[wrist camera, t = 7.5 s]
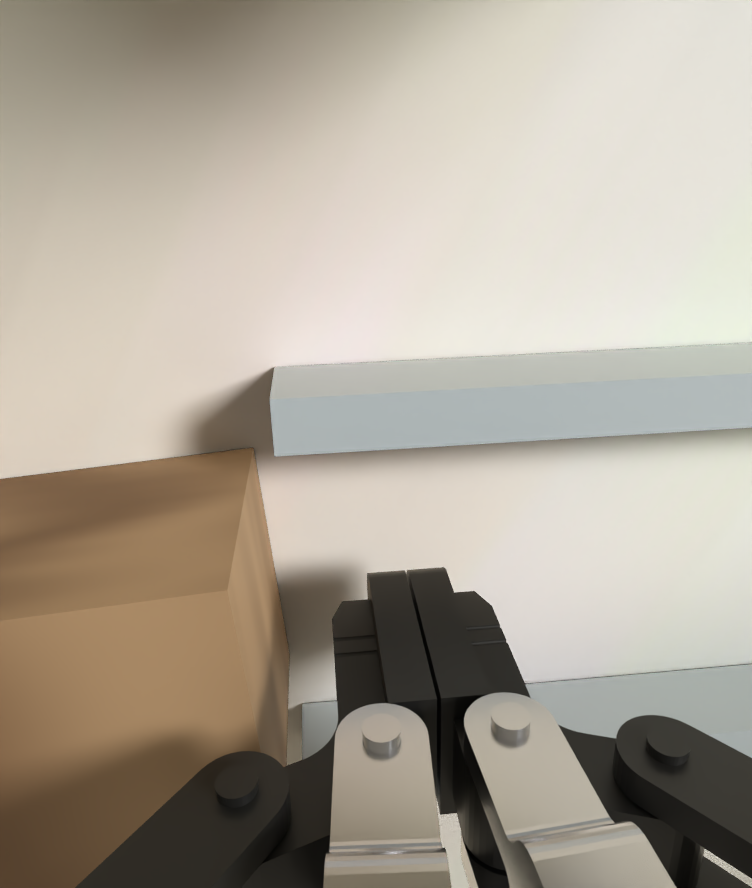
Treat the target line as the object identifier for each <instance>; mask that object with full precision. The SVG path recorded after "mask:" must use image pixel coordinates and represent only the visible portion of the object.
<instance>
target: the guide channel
mask: <svg viewBox="0 0 752 888" xmlns="http://www.w3.org/2000/svg"><path fill="white" fill-rule="evenodd" d="M270 411H271V422H272V434H273V445H274V457H276V456H292V455H309V454H325V453H341V452H358V451H374V450H391V449H407V448H424V447H440V446H456V445H473V444H489V443H506V442H522V441H539V440H555V439H572V438H588V437H604V436H621V435H637V434H654V433H670V432H687V431H703V430H720V429H736V428H752V343H734V344H715V345H695V346H675V347H656V348H636V349H616V350H597V351H577V352H557V353H538V354H518V355H498V356H479V357H459V358H439V359H420V360H400V361H380V362H361V363H341V364H321V365H302V366H282V367H274V373H273V380H272V386H271V393H270ZM525 685H526V688H527V690H528V692H529V695H530V697H531V698H532V699H534V700H536V701H537V702H539V703H540V704H542V705H543V706H544V707H546V708H547V709H548V710H549V711H550V713H551V714H552V715H553V717H554V718H555V720H556V722H557V724H558V725H560V726H562V727H565V728H567V729H570V730H573V731H576V732H581V733H586V734H592V735H598V736H604V737H610V738H616V736H617V733H618V730H619V728H620V727H621V726H622V725H623V724H624V723H625V722H626V721H628V720H630V719H632V718H634V717H638V716H643V715H659V716H666V717H670V718H673V719H676V720H679V721H682V722H684V723H686V724H688V725H690V726H692V727H694V728H696V729H698V730H700V731H702V732H703V733H705V734H707V735H709V736H711V737H713V738H715V739H717V740H719V741H720V742H722V743H724V744H726V745H728V746H730V747H732V748H734V749H736V750H737V751H739V752H741V753H743V754H745V755H747V756H749V757H751V758H752V664H747V665H736V666H724V667H713V668H702V669H691V670H679V671H668V672H657V673H645V674H634V675H623V676H612V677H600V678H589V679H578V680H566V681H555V682H544V683H533V684H525ZM337 723H338V707H337V701H329V702H318V703H307V704H302V760H303V759H306V758H308V757H310V756H311V755H313V754H315V753H316V752H318V751H319V750H320V749H322V748H323V747H324V746H325V745H326V744H327V743H328V742H329V740H330V739H331V737H332V736H333V734H334V732H335V730H336V727H337Z"/></svg>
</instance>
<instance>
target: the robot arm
mask: <svg viewBox="0 0 752 888" xmlns="http://www.w3.org/2000/svg"><path fill="white" fill-rule="evenodd" d="M367 590H368V600H356V601H343V602H342V603H341V605H340V606H339V608H338V610H337V612H336V613H335V615H334V617H333V618H332V624H333V641H334V657H335V674H336V690H337V707H338V723H337V727H336V730H335V732H334V734H333V736H332V737H331V739H330V740H329V742H328V743H327V744H326V745H325V746H324V747H323V748H322V749H320V750H319V751H318V752H316V753H315V754H313V755H311V756H310V757H308V758H306V759H303V760H301V761H299V762H296V763H293V764H291V765H288V766H285V767H283V766H282V765H281V764H280V763H279V762H278V761H277V760H276V759H274V758H273V757H271V756H269V755H267V754H264V753H260V752H255V751H240V752H234V753H230V754H227V755H224V756H222V757H219V758H217V759H215V760H214V761H212V762H210V763H209V764H207V765H206V766H205V767H204V768H202V769H201V770H200V771H199V772H198V773H197V774H196V775H195V776H194V777H193V778H192V779H190V780H189V781H188V782H187V783H186V784H185V785H184V786H183V787H182V788H181V789H180V790H179V791H178V792H177V793H176V794H174V795H173V796H172V797H171V798H170V799H169V800H168V801H167V802H166V803H165V804H164V805H163V806H162V807H161V808H160V809H158V810H157V811H156V812H155V813H154V814H153V815H152V816H151V817H150V818H149V819H148V820H147V821H146V822H145V823H143V824H142V825H141V826H140V827H139V828H138V829H137V830H136V831H135V832H134V833H133V834H132V835H131V836H130V837H129V838H127V839H126V840H125V841H124V842H123V843H122V844H121V845H120V846H119V847H118V848H117V849H116V850H115V851H114V852H112V853H111V854H110V855H109V856H108V857H107V858H106V859H105V860H104V861H103V862H102V863H101V864H100V865H99V866H98V867H96V868H95V869H94V870H93V871H92V872H91V873H90V874H89V875H88V876H87V877H86V878H85V879H84V880H83V881H81V882H80V883H79V884H78V885H77V886H76V887H75V888H451V881H450V873H449V866H448V859H447V853H446V849H445V848H442V845H441V837H440V829H439V820H438V812H437V803H436V796H437V801H438V806H439V810H440V814H450V813H457V815H458V819H459V823H460V828H461V859H462V864H463V867H464V870H465V873H466V877H467V880H468V883H469V886H470V888H752V887H750V886H748V885H747V884H745V883H744V882H742V881H741V880H739V879H738V878H736V877H735V876H733V875H732V874H730V873H728V872H727V871H725V870H724V869H722V868H721V867H719V866H718V865H716V864H715V863H713V862H711V861H710V860H708V859H707V858H705V857H704V856H703V853H704V848H705V849H707V850H708V851H710V852H711V853H713V854H714V855H716V856H718V857H719V858H721V859H722V860H724V861H725V862H727V863H728V864H730V865H732V866H733V867H735V868H736V869H738V870H739V871H741V872H743V873H744V874H746V875H747V876H749V877H750V878H752V758H751V757H749V756H747V755H745V754H743V753H741V752H739V751H737V750H736V749H734V748H732V747H730V746H728V745H726V744H724V743H722V742H720V741H719V740H717V739H715V738H713V737H711V736H709V735H707V734H705V733H703V732H702V731H700V730H698V729H696V728H694V727H692V726H690V725H688V724H686V723H684V722H682V721H679V720H676V719H673V718H670V717H666V716H659V715H643V716H638V717H634V718H632V719H630V720H628V721H626V722H625V723H624V724H623V725H622V726H621V727H620V728H619V730H618V733H617V736H616V738H610V737H604V736H598V735H592V734H586V733H581V732H576V731H573V730H570V729H567V728H565V727H562V726H560V725H558V724H557V722H556V720H555V718H554V717H553V715H552V714H551V713H550V711H549V710H548V709H547V708H546V707H544V706H543V705H542V704H540V703H539V702H537V701H536V700H534V699H532V698H531V697H530V695H529V692H528V690H527V688H526V685H525V683H524V681H523V678H522V676H521V674H520V671H519V669H518V667H517V664H516V662H515V659H514V657H513V655H512V652H511V650H510V648H509V645H508V643H506V638H505V636H504V634H503V631H502V629H501V628H500V624H499V622H498V620H497V617H496V615H495V613H494V610H493V608H492V606H491V605H490V604H489V603H488V602H486V601H485V600H484V599H483V598H482V597H481V596H479V595H478V594H477V593H476V592H475V591H470V592H457V593H454V591H453V588H452V586H451V583H450V580H449V577H448V574H447V571H446V569H445V568H444V567H442V568H429V569H416V570H407V573H406V572H405V571H391V572H377V573H367Z"/></svg>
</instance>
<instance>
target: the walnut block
mask: <svg viewBox="0 0 752 888" xmlns="http://www.w3.org/2000/svg"><path fill="white" fill-rule="evenodd" d="M289 658H290V654H289V648H288V642H287V637H286V631H285V625H284V620H283V614H282V608H281V603H280V597H279V591H278V585H277V580H276V574H275V568H274V563H273V557H272V551H271V546H270V540H269V534H268V529H267V523H266V517H265V511H264V506H263V500H262V494H261V489H260V483H259V477H258V472H257V466H256V460H255V455H254V449H253V448H247V449H239V450H231V451H223V452H215V453H207V454H199V455H191V456H183V457H175V458H167V459H159V460H150V461H142V462H134V463H126V464H118V465H110V466H102V467H94V468H86V469H78V470H70V471H62V472H54V473H46V474H38V475H30V476H22V477H14V478H6V479H0V888H75V887H76V886H77V885H78V884H79V883H80V882H81V881H83V880H84V879H85V878H86V877H87V876H88V875H89V874H90V873H91V872H92V871H93V870H94V869H95V868H96V867H98V866H99V865H100V864H101V863H102V862H103V861H104V860H105V859H106V858H107V857H108V856H109V855H110V854H111V853H112V852H114V851H115V850H116V849H117V848H118V847H119V846H120V845H121V844H122V843H123V842H124V841H125V840H126V839H127V838H129V837H130V836H131V835H132V834H133V833H134V832H135V831H136V830H137V829H138V828H139V827H140V826H141V825H142V824H143V823H145V822H146V821H147V820H148V819H149V818H150V817H151V816H152V815H153V814H154V813H155V812H156V811H157V810H158V809H160V808H161V807H162V806H163V805H164V804H165V803H166V802H167V801H168V800H169V799H170V798H171V797H172V796H173V795H174V794H176V793H177V792H178V791H179V790H180V789H181V788H182V787H183V786H184V785H185V784H186V783H187V782H188V781H189V780H190V779H192V778H193V777H194V776H195V775H196V774H197V773H198V772H199V771H200V770H201V769H202V768H204V767H205V766H206V765H207V764H209V763H210V762H212V761H214V760H215V759H217V758H219V757H222V756H224V755H227V754H230V753H234V752H240V751H255V752H260V753H264V754H267V755H269V756H271V757H273V758H274V759H276V760H277V761H278V762H279V763H280V764H281V765H282V766H283V767H285V766H286V757H287V724H288V691H289Z"/></svg>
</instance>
